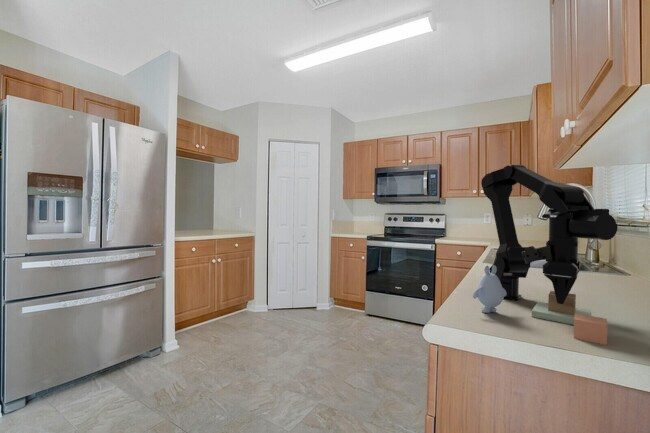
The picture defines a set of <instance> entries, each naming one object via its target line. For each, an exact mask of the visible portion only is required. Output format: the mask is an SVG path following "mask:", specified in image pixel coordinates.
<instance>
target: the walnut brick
mask: <svg viewBox="0 0 650 433" xmlns="http://www.w3.org/2000/svg"><path fill="white" fill-rule="evenodd" d="M576 296H577V295H576V293H570V292H569V294H568V296H567V298H566V300H565V301H564V303H563V304H558V303H557V300H556V296H555V291H554V290H550V291H549V293H548V300H547V303H548V311H554V312H560V313H565V314H571V315H574V314H575V308H576V306H577V305H576V298H577V297H576Z"/></svg>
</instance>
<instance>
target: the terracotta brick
mask: <svg viewBox="0 0 650 433" xmlns="http://www.w3.org/2000/svg"><path fill="white" fill-rule="evenodd" d="M573 339H577V340H581V341H586V342H591V343H595V344H599V343H600V345H604V344H606V345H605V346H608V320H607V318H603V317H597V316H593V315H591V316H587V315H581V314H575V317H574V325H573Z"/></svg>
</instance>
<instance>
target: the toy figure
mask: <svg viewBox="0 0 650 433" xmlns="http://www.w3.org/2000/svg"><path fill="white" fill-rule="evenodd" d="M492 265H493V264H492ZM492 265H491V266H492ZM489 269H490V267H489V265H485V266H484V269H483V271H484V274H483V275H482V277H481V279H480V280H479V282H478V285H477V288H476V290H474V292H473V294H472V298H473V299H477V300H478V301H479V302H480V303H481V304H482V305H483V306H484V307H483V308H481V310H480V311H481V312H482V313H484V314H489V313H490V312H491V313H496V312H497V308H496V307H498V306H500V305H501V304H502V303H503V301H504V299H505V298H504V296H506V295H507V293H506V291H505V289H504V288H502V285H501V283H500V281H499V279H498V277H497V276H496V275H495V273H496V271H497V268H496V266H495V265H493V266H492V273H490V270H489Z"/></svg>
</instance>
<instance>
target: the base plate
mask: <svg viewBox="0 0 650 433" xmlns="http://www.w3.org/2000/svg"><path fill="white" fill-rule="evenodd" d="M575 314H581V315H587V316H592V310H591V309H585V308H579V307H575ZM575 314H574V315H571V314H565V313H560V312H554V311H548V302H542V301H537V303H536V304H535V305H534V306H533V307H532V309H531V317H532V318H537V319H543V320H547V321H553V322H557V323H563V324H568V325H573V326H574V317H575Z"/></svg>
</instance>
